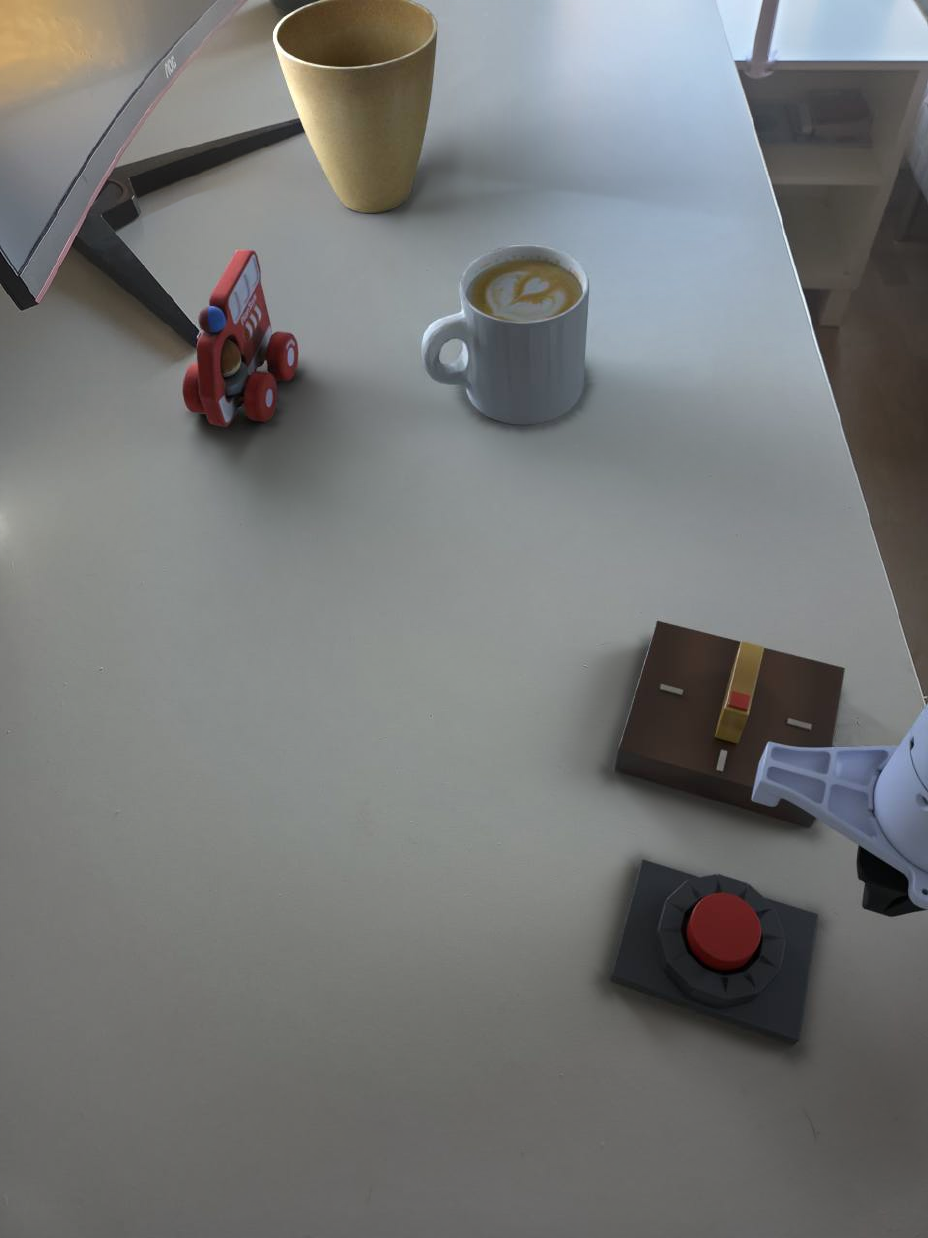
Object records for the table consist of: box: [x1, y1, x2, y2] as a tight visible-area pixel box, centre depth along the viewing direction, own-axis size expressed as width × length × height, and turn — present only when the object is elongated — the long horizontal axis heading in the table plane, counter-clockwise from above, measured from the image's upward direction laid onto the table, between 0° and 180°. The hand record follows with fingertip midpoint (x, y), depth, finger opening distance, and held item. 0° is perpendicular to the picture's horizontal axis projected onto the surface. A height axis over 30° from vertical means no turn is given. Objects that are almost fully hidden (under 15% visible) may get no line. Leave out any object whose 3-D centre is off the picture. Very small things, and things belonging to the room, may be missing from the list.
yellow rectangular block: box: [715, 640, 765, 743], centre depth 58 cm, size 5×1×4 cm, turn 160°
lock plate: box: [614, 620, 846, 829], centre depth 60 cm, size 12×10×3 cm
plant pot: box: [272, 0, 439, 214], centre depth 93 cm, size 15×15×16 cm
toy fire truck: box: [182, 248, 299, 428], centre depth 79 cm, size 7×12×10 cm, turn 166°
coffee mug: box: [420, 244, 590, 426], centre depth 77 cm, size 13×10×10 cm
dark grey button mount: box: [609, 858, 819, 1046], centre depth 52 cm, size 10×7×3 cm
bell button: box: [687, 893, 761, 971], centre depth 51 cm, size 4×4×2 cm
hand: (879, 893), depth 46 cm, fingers closed
